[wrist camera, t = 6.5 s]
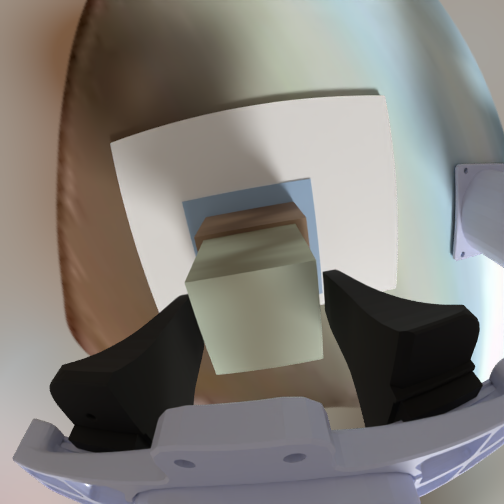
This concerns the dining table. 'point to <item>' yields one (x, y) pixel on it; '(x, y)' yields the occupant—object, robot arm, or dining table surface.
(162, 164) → the board
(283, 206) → the walnut base
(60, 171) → the dining table surface
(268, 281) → the sage block
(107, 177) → the dining table surface
